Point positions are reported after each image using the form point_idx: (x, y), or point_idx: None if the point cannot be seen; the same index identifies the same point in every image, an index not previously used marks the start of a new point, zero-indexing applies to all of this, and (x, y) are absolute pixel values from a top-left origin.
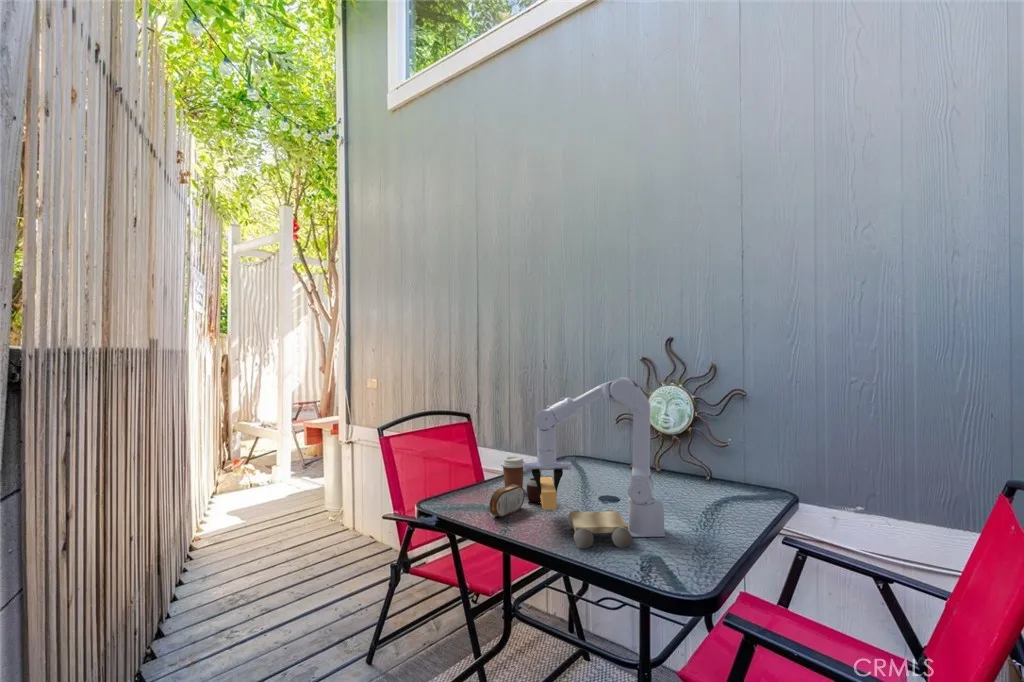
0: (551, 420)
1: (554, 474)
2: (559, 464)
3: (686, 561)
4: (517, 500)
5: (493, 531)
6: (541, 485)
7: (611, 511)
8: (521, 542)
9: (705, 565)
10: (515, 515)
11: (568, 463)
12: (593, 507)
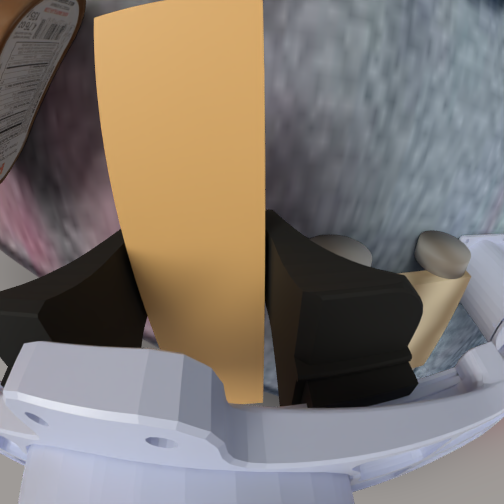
0: None
1: (283, 382)
2: (382, 464)
3: (443, 361)
4: (45, 42)
5: (46, 268)
6: (151, 314)
7: (456, 279)
8: (144, 334)
9: (453, 364)
10: (67, 105)
11: (481, 429)
12: (435, 24)
